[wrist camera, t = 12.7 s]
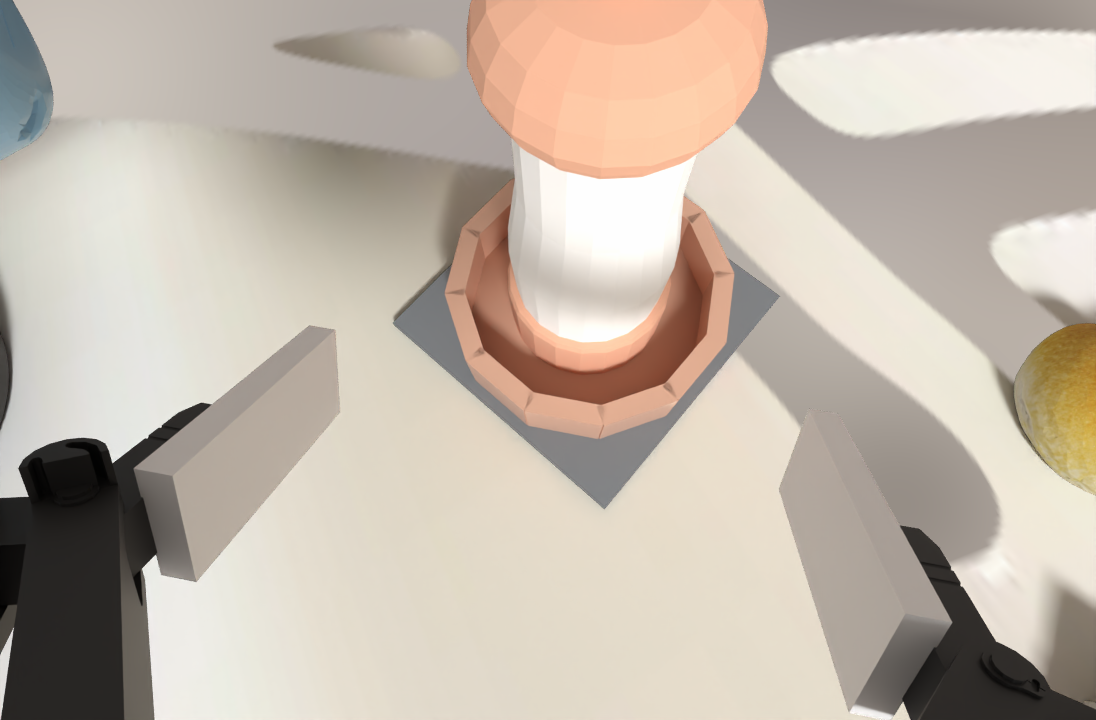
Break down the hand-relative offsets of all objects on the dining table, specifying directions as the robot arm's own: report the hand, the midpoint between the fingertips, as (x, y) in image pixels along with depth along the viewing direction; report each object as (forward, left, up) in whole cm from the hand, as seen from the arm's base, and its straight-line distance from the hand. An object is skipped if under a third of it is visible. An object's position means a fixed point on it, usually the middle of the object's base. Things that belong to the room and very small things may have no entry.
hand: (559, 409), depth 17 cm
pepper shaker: (-4, +7, -12) cm, 14 cm away
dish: (-4, +7, -12) cm, 15 cm away
